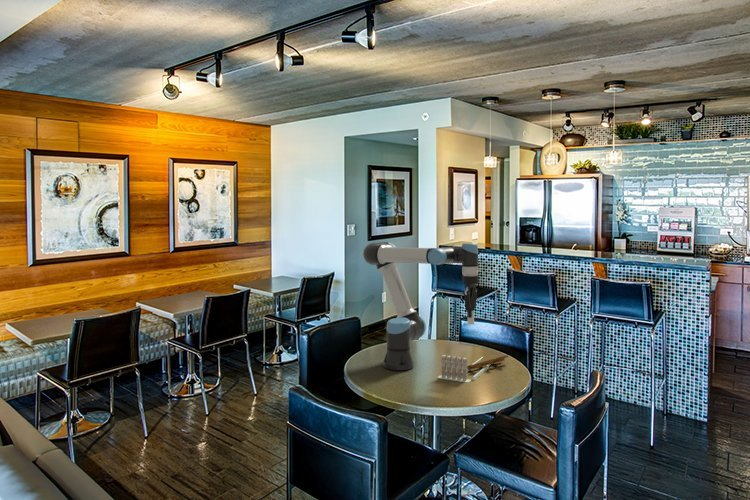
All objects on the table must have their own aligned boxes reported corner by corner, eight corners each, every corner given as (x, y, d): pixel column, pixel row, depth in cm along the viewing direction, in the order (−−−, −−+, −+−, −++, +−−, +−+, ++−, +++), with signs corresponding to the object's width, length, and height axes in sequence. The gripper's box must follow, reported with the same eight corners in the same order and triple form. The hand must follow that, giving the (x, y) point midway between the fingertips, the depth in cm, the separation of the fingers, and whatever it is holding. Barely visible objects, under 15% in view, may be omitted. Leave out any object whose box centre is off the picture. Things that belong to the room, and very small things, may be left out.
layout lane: (458, 378, 229) (458, 374, 229) (482, 359, 261) (482, 356, 261) (474, 380, 225) (474, 377, 225) (496, 361, 258) (496, 358, 258)
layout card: (436, 378, 229) (436, 377, 229) (440, 375, 233) (440, 375, 233) (468, 382, 222) (468, 382, 222) (471, 380, 226) (471, 379, 226)
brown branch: (463, 371, 241) (477, 367, 234) (462, 367, 242) (476, 363, 234) (498, 361, 256) (512, 357, 248) (496, 357, 256) (511, 354, 249)
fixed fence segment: (466, 380, 224) (466, 358, 224) (441, 377, 230) (441, 355, 230) (467, 379, 226) (467, 357, 225) (442, 376, 232) (442, 354, 231)
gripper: (472, 276, 232) (473, 326, 233) (482, 274, 243) (483, 322, 244) (457, 276, 236) (458, 325, 237) (468, 274, 247) (468, 321, 248)
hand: (470, 324), depth 240 cm, fingers closed
